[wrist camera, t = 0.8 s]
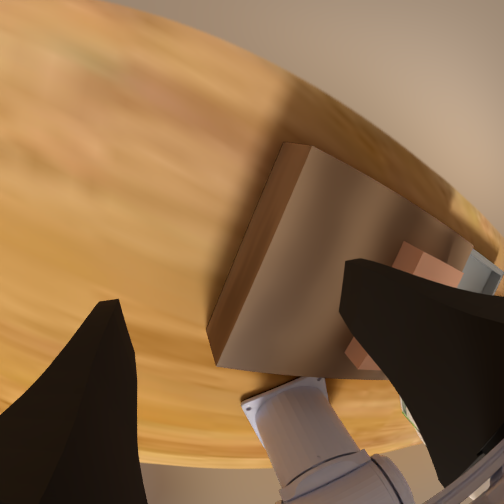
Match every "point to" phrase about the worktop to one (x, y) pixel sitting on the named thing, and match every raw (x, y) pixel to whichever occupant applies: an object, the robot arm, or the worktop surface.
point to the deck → (313, 265)
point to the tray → (480, 275)
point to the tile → (417, 265)
